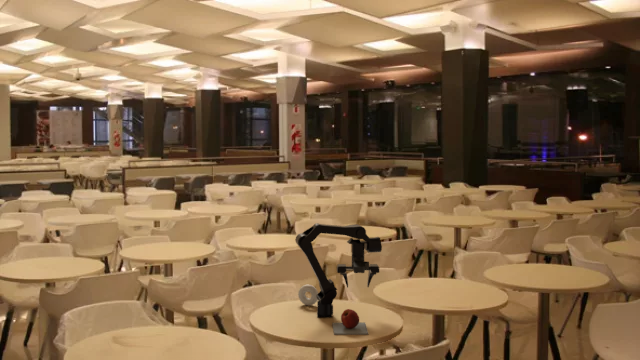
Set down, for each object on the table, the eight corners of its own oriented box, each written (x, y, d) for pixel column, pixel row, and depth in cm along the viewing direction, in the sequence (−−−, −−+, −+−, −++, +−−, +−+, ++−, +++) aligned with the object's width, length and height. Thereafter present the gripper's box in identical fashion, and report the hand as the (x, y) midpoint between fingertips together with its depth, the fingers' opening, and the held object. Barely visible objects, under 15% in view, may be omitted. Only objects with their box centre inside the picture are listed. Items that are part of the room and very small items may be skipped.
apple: (337, 326, 287) (337, 307, 286) (354, 324, 290) (354, 305, 289) (345, 331, 280) (345, 312, 279) (362, 329, 283) (362, 310, 282)
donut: (297, 305, 320) (297, 284, 319) (299, 303, 323) (299, 282, 322) (317, 307, 316) (317, 286, 315) (319, 305, 320) (319, 284, 318)
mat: (334, 334, 278) (334, 333, 278) (332, 324, 292) (332, 322, 292) (368, 334, 278) (368, 333, 278) (365, 323, 292) (365, 322, 292)
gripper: (338, 257, 296) (337, 292, 298) (381, 256, 297) (380, 292, 298) (336, 251, 307) (336, 285, 309) (378, 251, 308) (377, 285, 309)
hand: (357, 287), depth 306 cm, fingers open, 9 cm apart
